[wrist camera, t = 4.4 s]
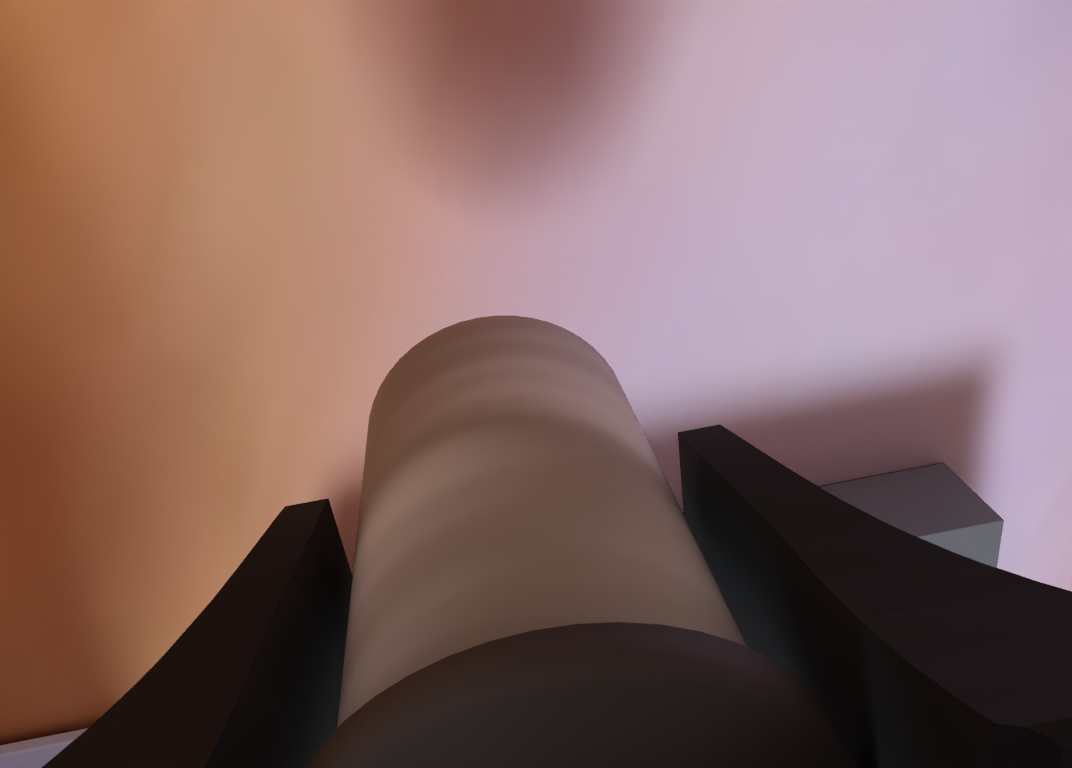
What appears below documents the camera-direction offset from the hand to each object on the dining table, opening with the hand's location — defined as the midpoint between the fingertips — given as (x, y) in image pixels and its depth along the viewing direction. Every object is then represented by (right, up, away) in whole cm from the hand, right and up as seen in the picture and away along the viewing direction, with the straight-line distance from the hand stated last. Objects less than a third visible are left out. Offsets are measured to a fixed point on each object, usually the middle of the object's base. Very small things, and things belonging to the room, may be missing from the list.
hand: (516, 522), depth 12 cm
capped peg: (0, +1, +2) cm, 2 cm away
